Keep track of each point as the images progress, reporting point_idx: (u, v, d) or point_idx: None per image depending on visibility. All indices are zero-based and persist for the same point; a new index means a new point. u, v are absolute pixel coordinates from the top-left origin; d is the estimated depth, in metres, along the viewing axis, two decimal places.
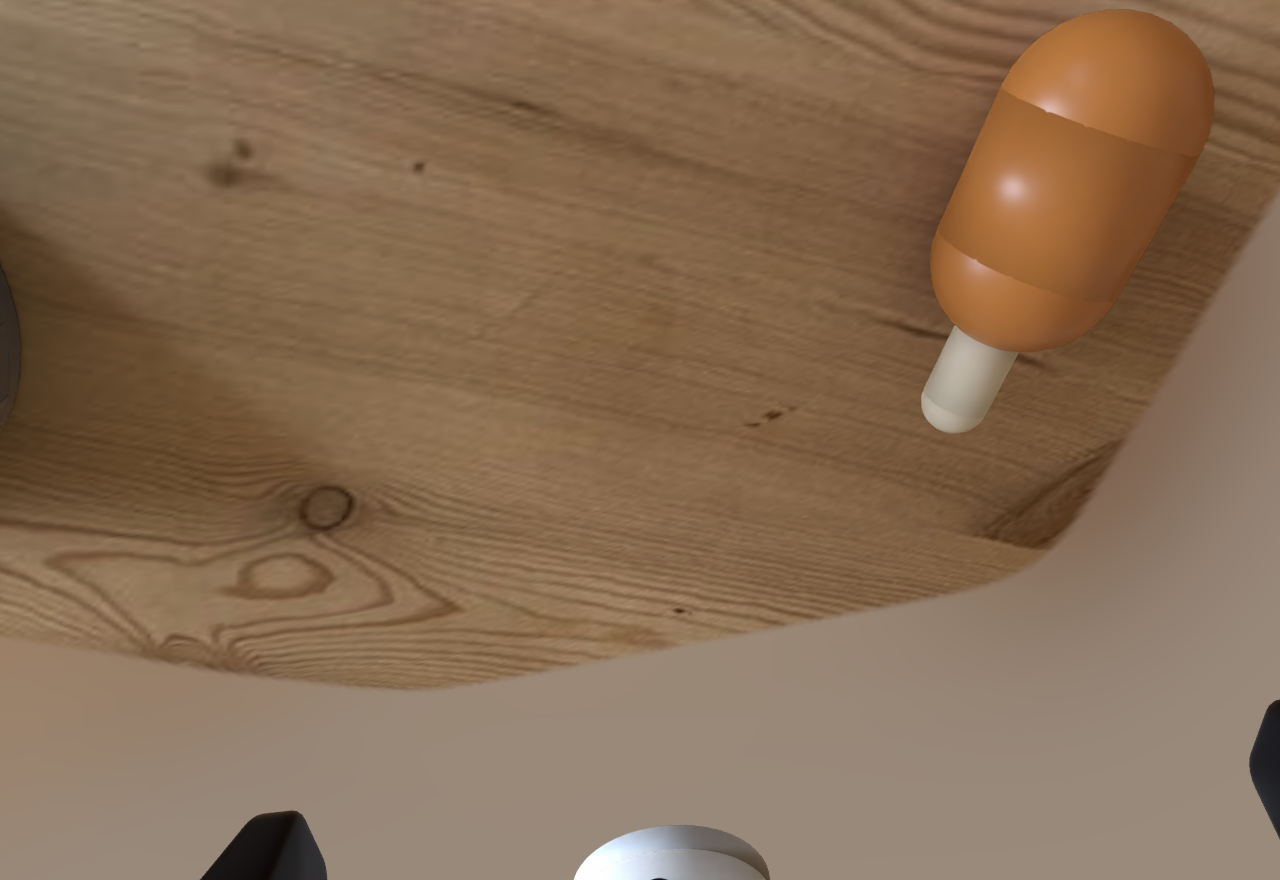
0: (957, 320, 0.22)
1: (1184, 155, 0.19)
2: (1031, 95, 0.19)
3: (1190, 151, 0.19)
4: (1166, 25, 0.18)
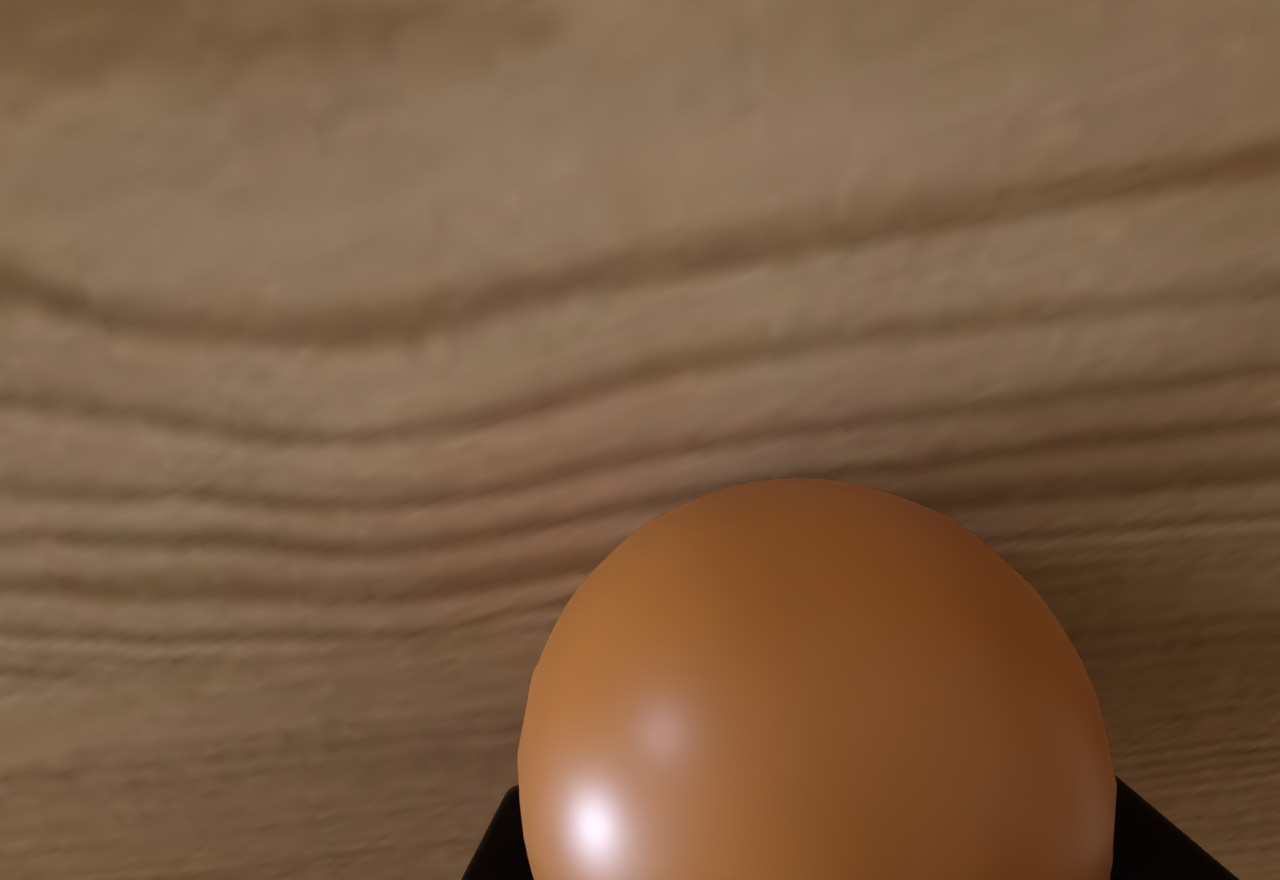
0: None
1: None
2: (533, 862, 0.06)
3: None
4: (825, 622, 0.05)
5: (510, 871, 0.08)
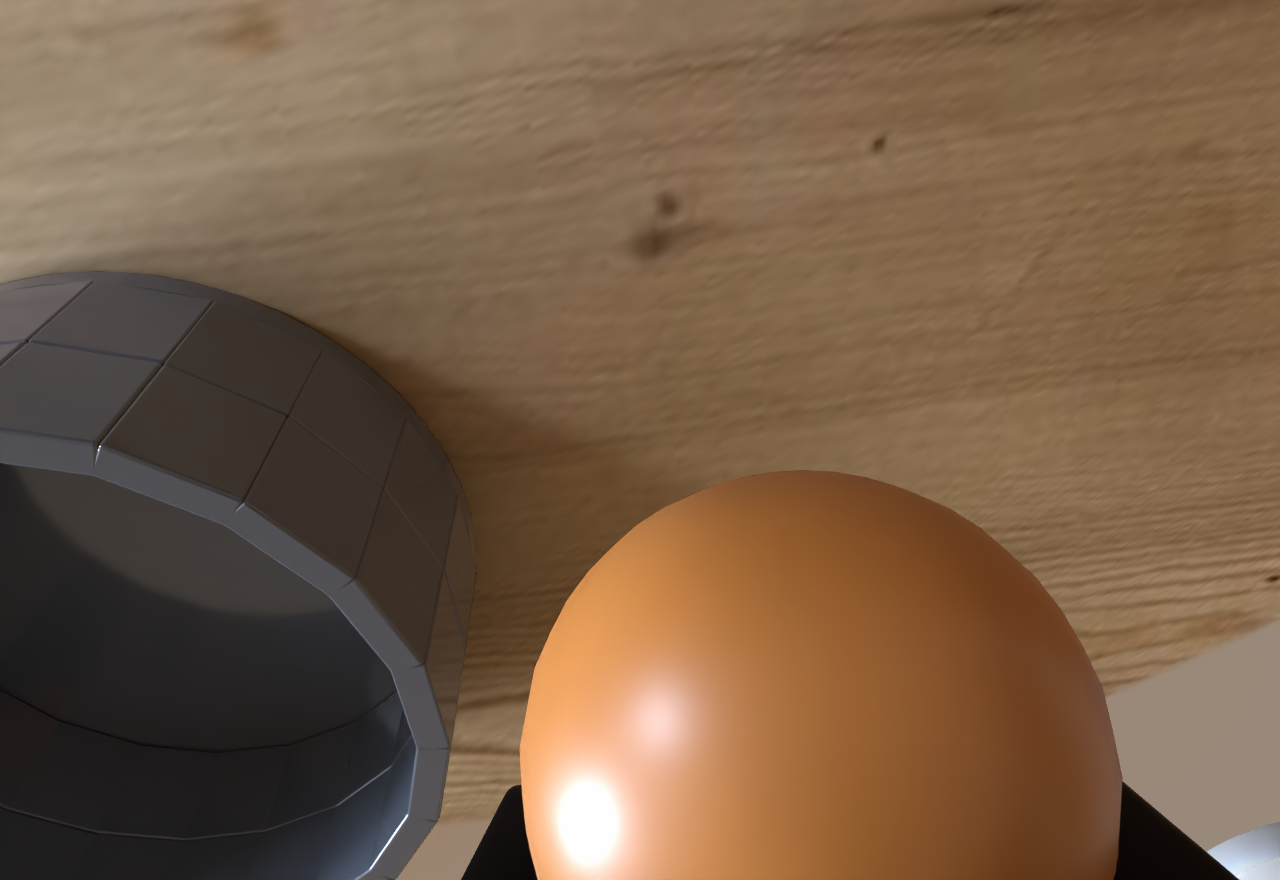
0: None
1: None
2: (536, 856, 0.06)
3: None
4: (829, 613, 0.05)
5: (511, 871, 0.08)
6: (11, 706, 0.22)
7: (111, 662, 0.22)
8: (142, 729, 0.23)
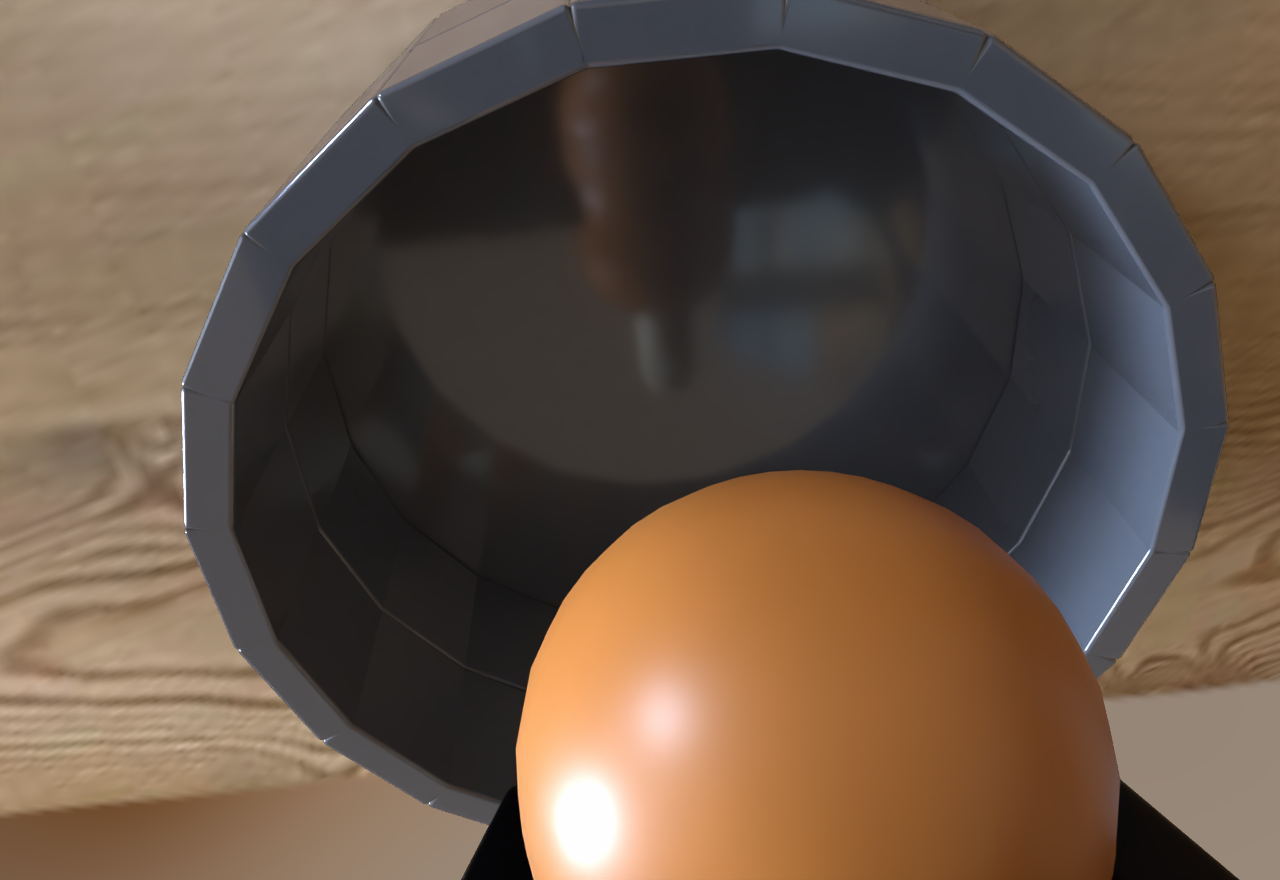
0: None
1: None
2: (532, 857, 0.06)
3: None
4: (826, 613, 0.05)
5: (510, 871, 0.08)
6: (434, 552, 0.18)
7: (563, 497, 0.18)
8: (570, 589, 0.19)
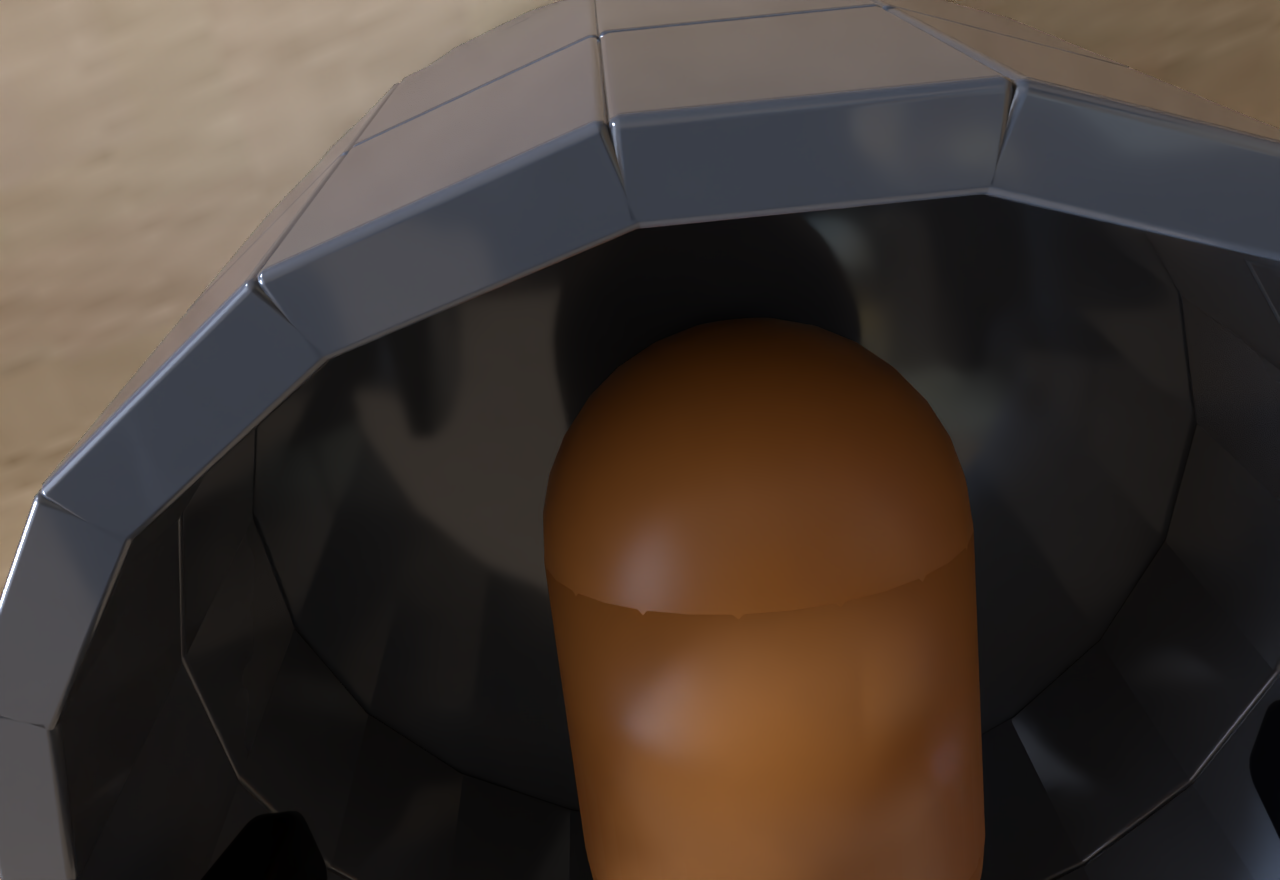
0: None
1: (901, 586, 0.08)
2: (552, 562, 0.09)
3: (913, 571, 0.08)
4: (747, 338, 0.08)
5: None
6: (407, 752, 0.14)
7: None
8: None
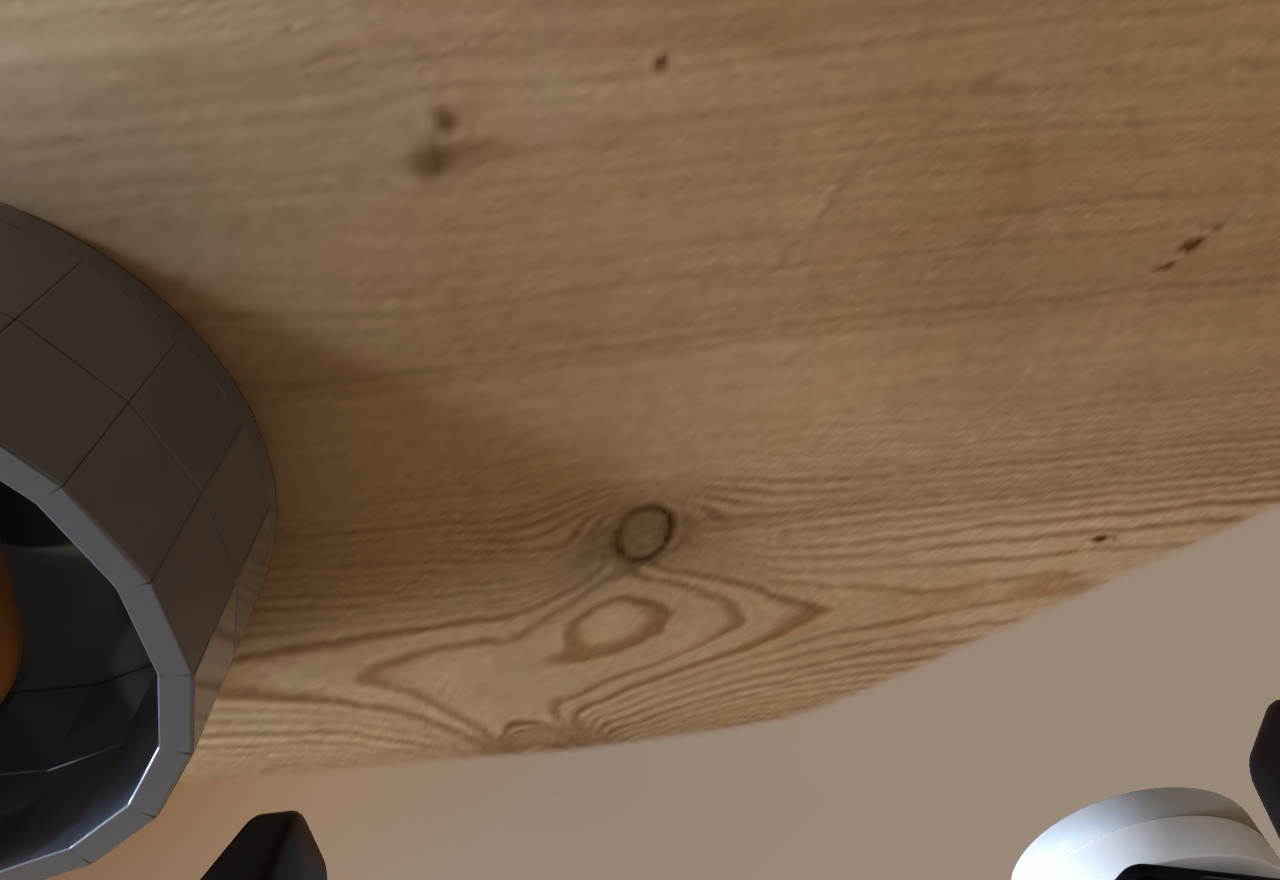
0: None
1: None
2: None
3: None
4: None
5: None
6: None
7: None
8: None
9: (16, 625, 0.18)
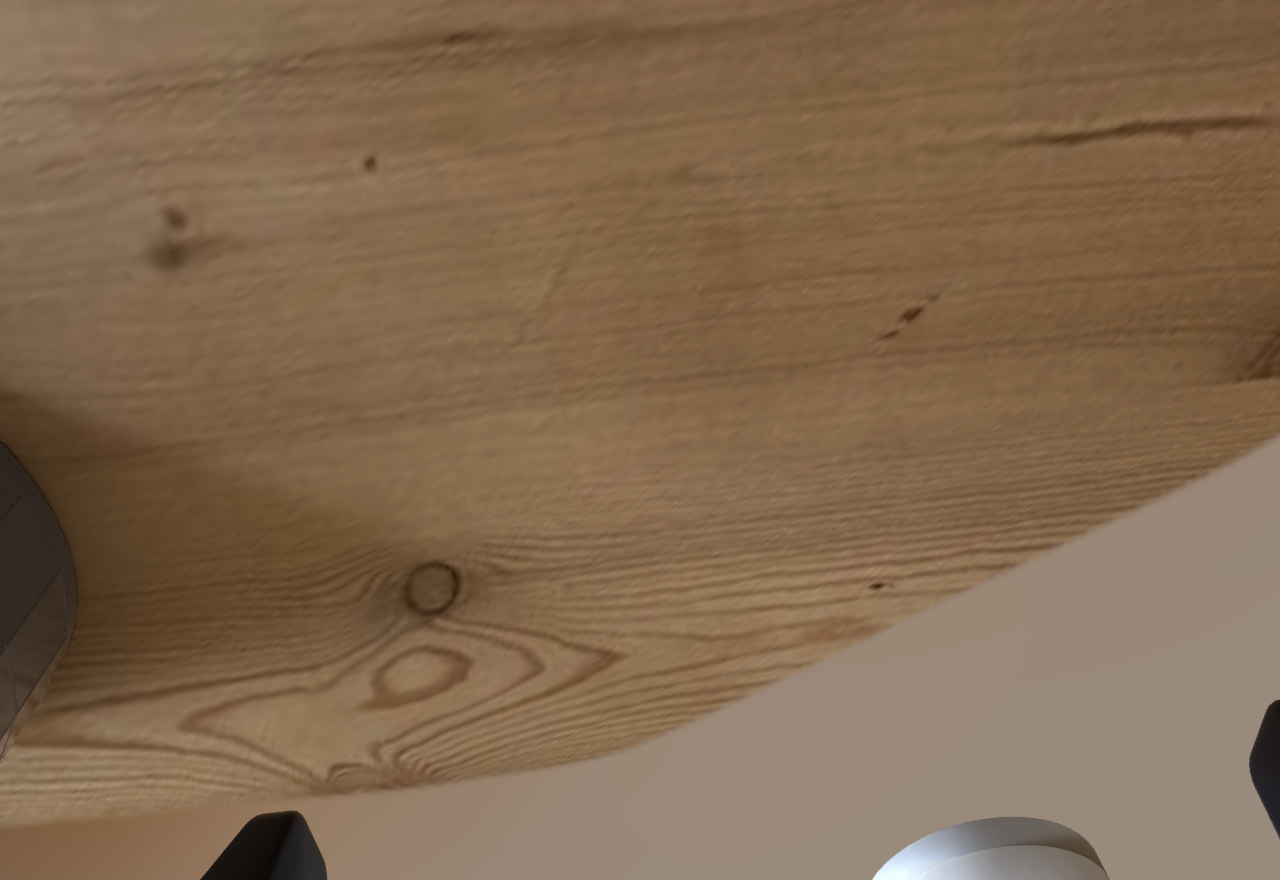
0: None
1: None
2: None
3: None
4: None
5: None
6: None
7: None
8: None
9: None
